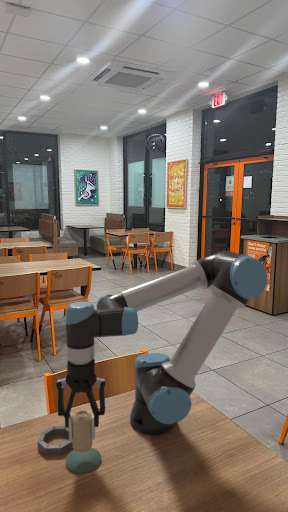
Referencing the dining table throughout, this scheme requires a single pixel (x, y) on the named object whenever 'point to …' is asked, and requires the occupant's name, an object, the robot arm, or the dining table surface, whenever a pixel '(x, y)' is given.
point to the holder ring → (54, 448)
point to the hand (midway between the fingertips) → (82, 436)
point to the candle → (82, 431)
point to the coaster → (83, 461)
